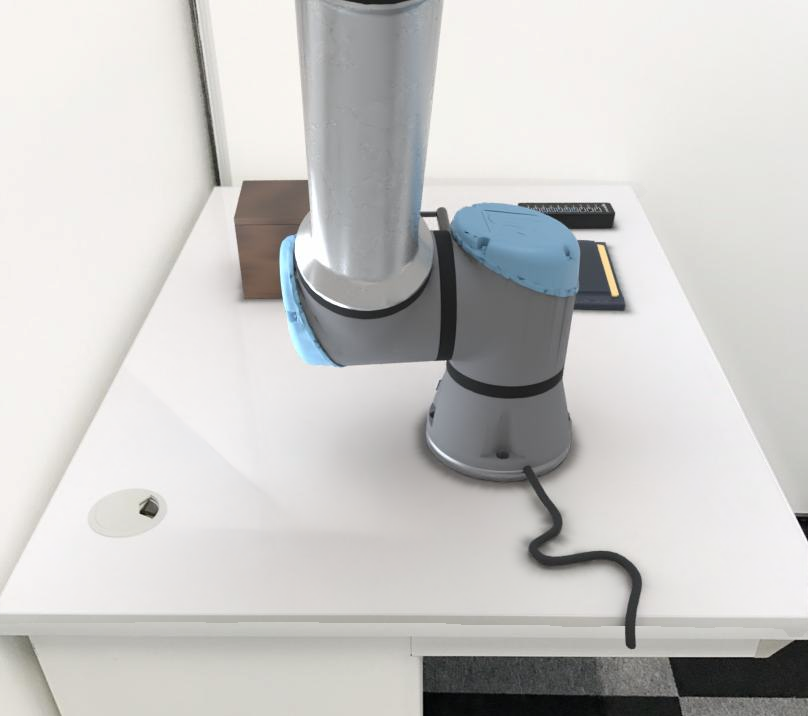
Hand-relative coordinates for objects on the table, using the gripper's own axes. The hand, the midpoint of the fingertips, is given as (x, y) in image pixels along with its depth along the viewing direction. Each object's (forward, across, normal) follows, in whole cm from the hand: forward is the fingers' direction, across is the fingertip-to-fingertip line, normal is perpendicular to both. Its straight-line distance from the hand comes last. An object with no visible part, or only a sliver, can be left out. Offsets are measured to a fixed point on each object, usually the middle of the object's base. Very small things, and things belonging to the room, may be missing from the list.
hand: (348, 90), depth 91 cm
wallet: (+27, -11, +29) cm, 41 cm away
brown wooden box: (+27, -12, -8) cm, 30 cm away
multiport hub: (+27, -29, +32) cm, 51 cm away
